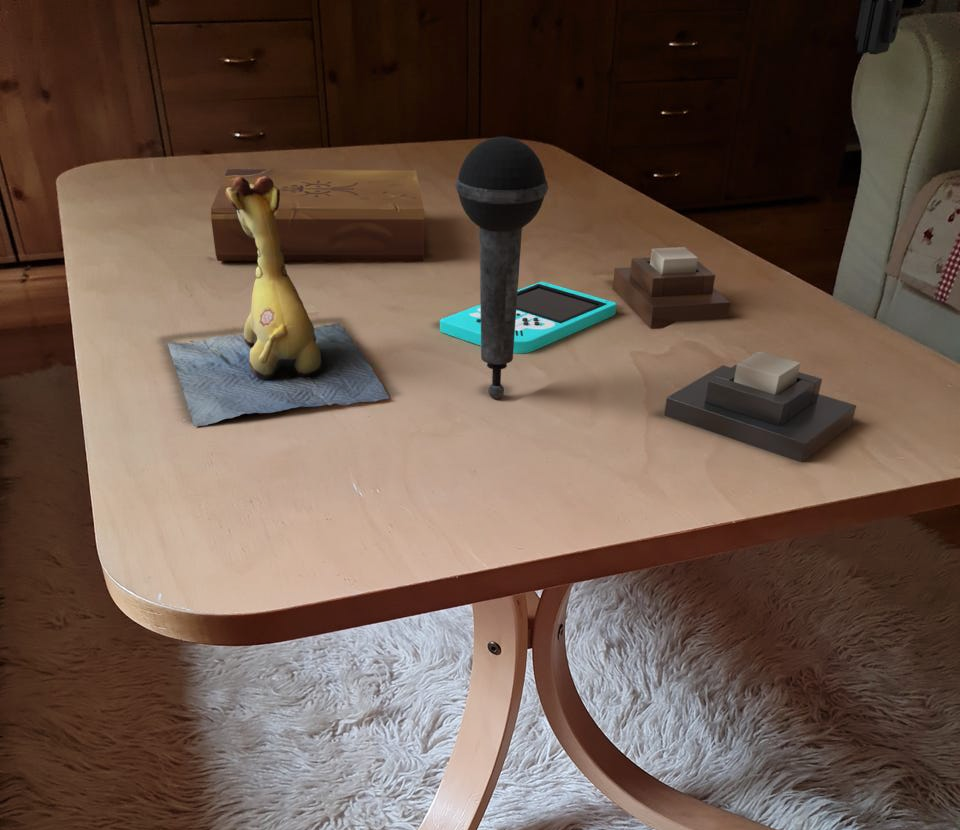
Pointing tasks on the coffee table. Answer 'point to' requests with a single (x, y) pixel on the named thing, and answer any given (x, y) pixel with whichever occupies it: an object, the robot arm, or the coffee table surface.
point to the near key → (767, 372)
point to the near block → (762, 413)
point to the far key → (673, 260)
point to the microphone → (500, 235)
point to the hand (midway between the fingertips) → (872, 51)
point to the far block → (669, 294)
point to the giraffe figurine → (271, 339)
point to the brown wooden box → (330, 216)
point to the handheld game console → (537, 316)
